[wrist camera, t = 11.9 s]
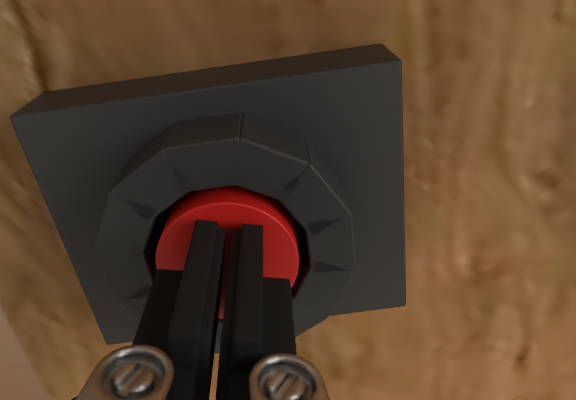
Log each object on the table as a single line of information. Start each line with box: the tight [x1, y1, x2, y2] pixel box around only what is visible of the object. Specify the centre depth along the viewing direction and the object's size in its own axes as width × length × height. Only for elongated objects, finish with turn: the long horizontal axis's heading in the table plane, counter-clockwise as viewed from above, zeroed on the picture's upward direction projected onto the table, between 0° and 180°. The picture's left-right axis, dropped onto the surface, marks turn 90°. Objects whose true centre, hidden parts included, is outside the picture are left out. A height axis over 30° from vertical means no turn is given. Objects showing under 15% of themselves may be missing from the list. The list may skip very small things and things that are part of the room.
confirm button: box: [156, 185, 299, 319], centre depth 13 cm, size 4×4×2 cm
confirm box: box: [10, 44, 406, 353], centre depth 14 cm, size 10×8×4 cm
